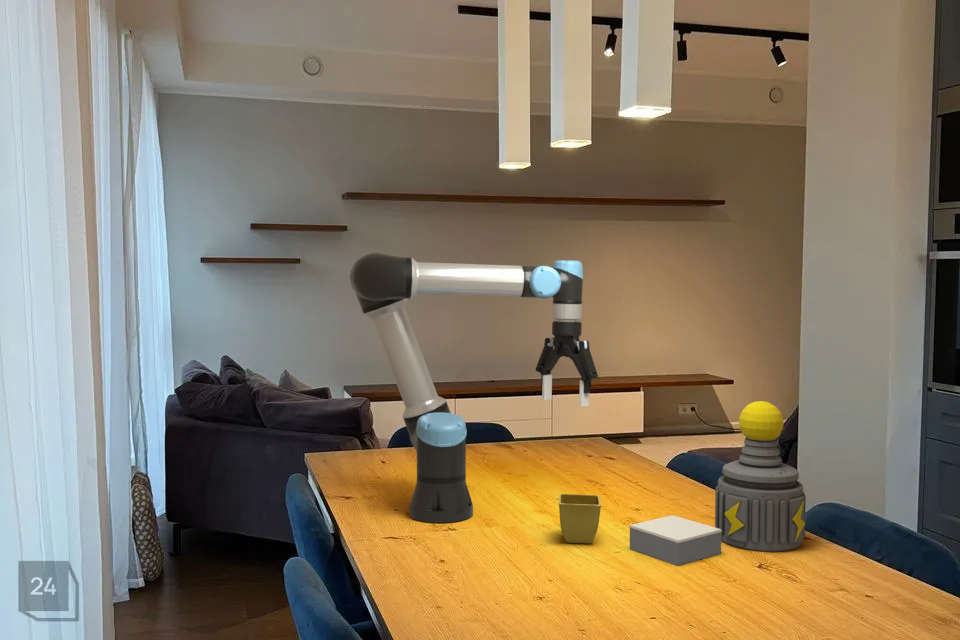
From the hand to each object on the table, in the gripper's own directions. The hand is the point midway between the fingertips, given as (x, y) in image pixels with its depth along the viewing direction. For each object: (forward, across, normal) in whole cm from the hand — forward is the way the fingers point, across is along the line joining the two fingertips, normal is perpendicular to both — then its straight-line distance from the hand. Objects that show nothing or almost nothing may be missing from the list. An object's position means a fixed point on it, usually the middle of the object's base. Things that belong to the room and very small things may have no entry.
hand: (565, 402), depth 222 cm
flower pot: (+24, -30, +24) cm, 46 cm away
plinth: (+24, -48, +14) cm, 55 cm away
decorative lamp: (+24, -54, -6) cm, 59 cm away
